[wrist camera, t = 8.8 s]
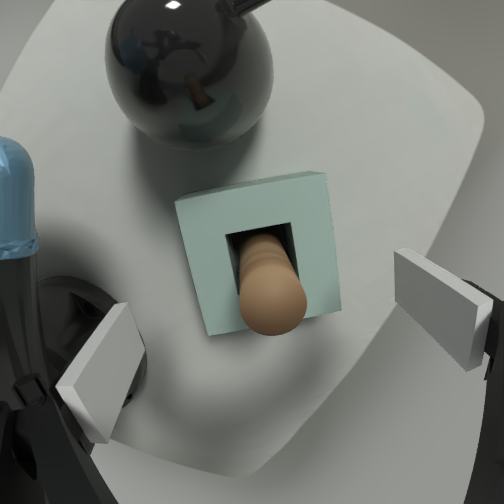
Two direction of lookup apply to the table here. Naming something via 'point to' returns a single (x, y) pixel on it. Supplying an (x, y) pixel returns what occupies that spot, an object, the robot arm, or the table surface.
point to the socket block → (251, 217)
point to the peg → (268, 284)
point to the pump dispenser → (189, 69)
